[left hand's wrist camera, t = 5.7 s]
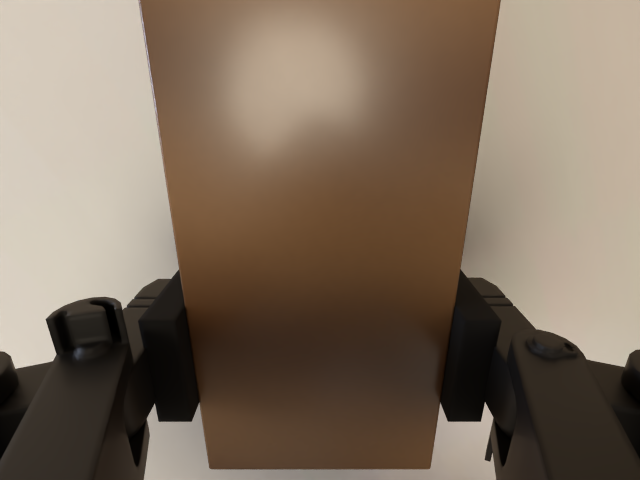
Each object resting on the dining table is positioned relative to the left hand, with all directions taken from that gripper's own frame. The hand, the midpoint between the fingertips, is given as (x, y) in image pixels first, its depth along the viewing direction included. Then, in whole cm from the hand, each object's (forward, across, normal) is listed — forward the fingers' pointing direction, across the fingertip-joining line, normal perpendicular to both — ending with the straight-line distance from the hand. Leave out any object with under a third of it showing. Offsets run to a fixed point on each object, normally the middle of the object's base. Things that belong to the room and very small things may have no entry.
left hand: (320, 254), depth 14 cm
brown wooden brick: (+2, 0, -6) cm, 6 cm away
